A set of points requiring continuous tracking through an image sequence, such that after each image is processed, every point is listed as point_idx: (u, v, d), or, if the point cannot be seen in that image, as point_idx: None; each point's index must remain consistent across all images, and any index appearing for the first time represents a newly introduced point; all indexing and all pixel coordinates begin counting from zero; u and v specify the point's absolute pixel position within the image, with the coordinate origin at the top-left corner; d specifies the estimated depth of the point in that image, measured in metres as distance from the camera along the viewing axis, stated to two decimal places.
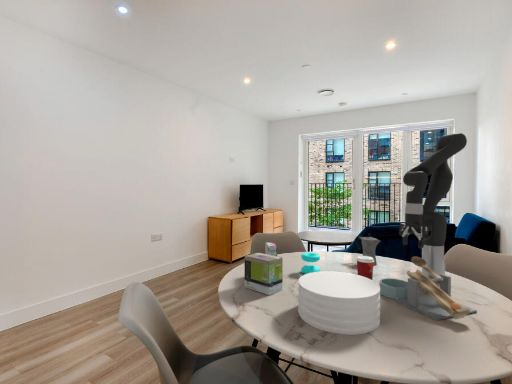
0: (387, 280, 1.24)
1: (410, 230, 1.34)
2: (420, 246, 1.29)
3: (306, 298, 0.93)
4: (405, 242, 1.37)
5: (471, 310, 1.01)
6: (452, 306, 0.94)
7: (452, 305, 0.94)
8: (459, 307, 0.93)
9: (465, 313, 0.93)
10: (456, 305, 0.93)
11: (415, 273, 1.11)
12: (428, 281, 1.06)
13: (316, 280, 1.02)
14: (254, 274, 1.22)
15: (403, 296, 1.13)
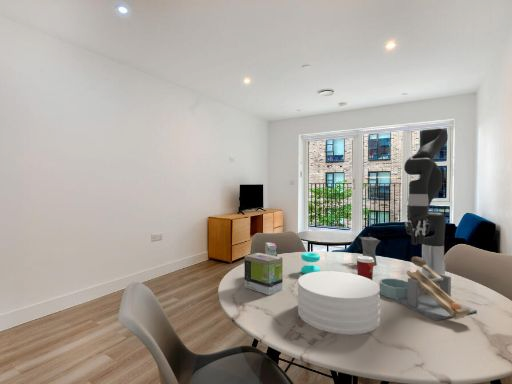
0: (387, 280, 1.24)
1: None
2: None
3: (306, 298, 0.93)
4: None
5: (471, 310, 1.01)
6: (452, 306, 0.94)
7: (452, 305, 0.94)
8: (459, 307, 0.93)
9: (465, 313, 0.93)
10: (456, 305, 0.93)
11: (415, 273, 1.11)
12: (428, 281, 1.06)
13: (316, 280, 1.02)
14: (254, 274, 1.22)
15: (403, 296, 1.13)
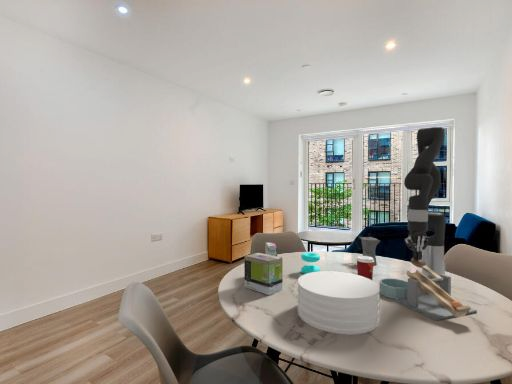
0: (387, 280, 1.24)
1: None
2: None
3: (305, 298, 0.93)
4: None
5: (471, 310, 1.01)
6: (453, 304, 0.94)
7: (452, 303, 0.94)
8: (459, 305, 0.93)
9: (466, 311, 0.92)
10: (456, 303, 0.93)
11: (415, 273, 1.11)
12: (428, 281, 1.06)
13: (315, 280, 1.02)
14: (254, 274, 1.22)
15: (403, 296, 1.13)
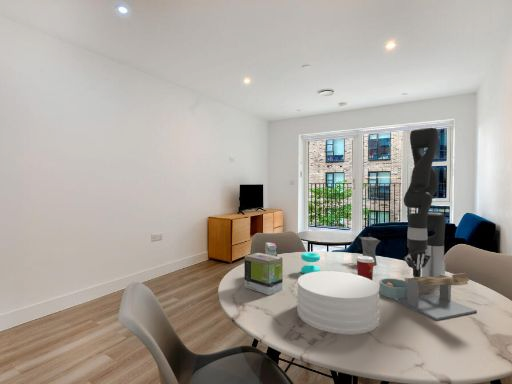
0: (387, 280, 1.24)
1: None
2: (419, 275, 1.20)
3: (305, 298, 0.93)
4: None
5: (471, 310, 1.01)
6: None
7: None
8: (387, 283, 1.23)
9: (465, 277, 0.93)
10: None
11: None
12: None
13: (315, 280, 1.02)
14: (254, 274, 1.22)
15: (403, 296, 1.13)
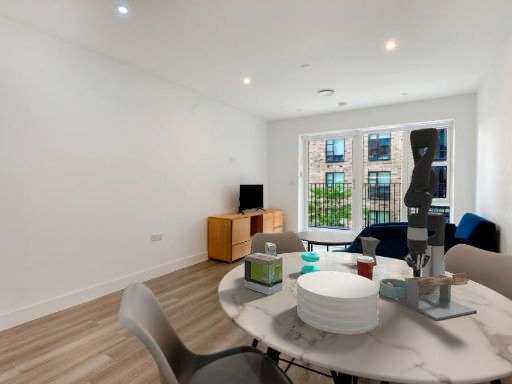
0: (387, 280, 1.24)
1: None
2: (419, 275, 1.20)
3: (305, 298, 0.93)
4: None
5: (471, 310, 1.01)
6: None
7: None
8: None
9: (465, 277, 0.93)
10: None
11: None
12: None
13: (315, 280, 1.02)
14: (254, 274, 1.22)
15: (403, 296, 1.13)
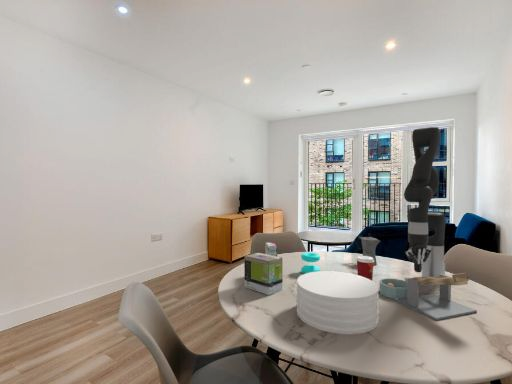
0: (387, 280, 1.24)
1: None
2: None
3: (304, 298, 0.93)
4: None
5: (471, 310, 1.01)
6: None
7: None
8: None
9: (465, 277, 0.93)
10: None
11: None
12: None
13: (315, 280, 1.02)
14: (254, 274, 1.22)
15: (403, 296, 1.13)
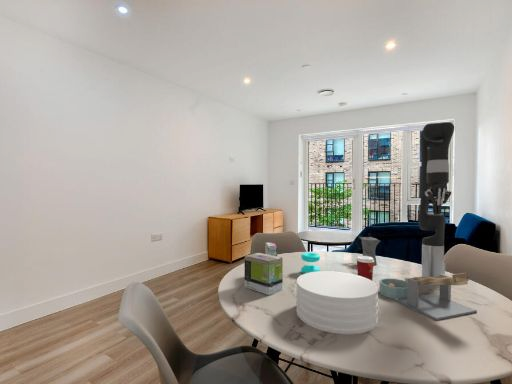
0: (387, 280, 1.24)
1: None
2: None
3: (304, 298, 0.93)
4: None
5: (471, 310, 1.01)
6: None
7: None
8: None
9: (465, 277, 0.93)
10: None
11: None
12: None
13: (314, 280, 1.02)
14: (254, 274, 1.22)
15: (403, 296, 1.13)
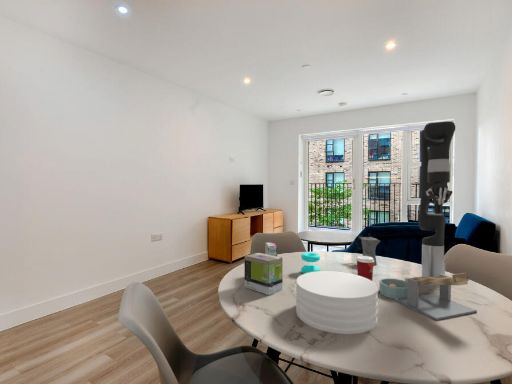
0: (387, 280, 1.24)
1: None
2: None
3: (304, 298, 0.93)
4: None
5: (471, 310, 1.01)
6: None
7: None
8: (390, 284, 1.21)
9: (465, 277, 0.93)
10: (389, 285, 1.21)
11: None
12: None
13: (314, 280, 1.02)
14: (254, 274, 1.22)
15: (403, 296, 1.13)
